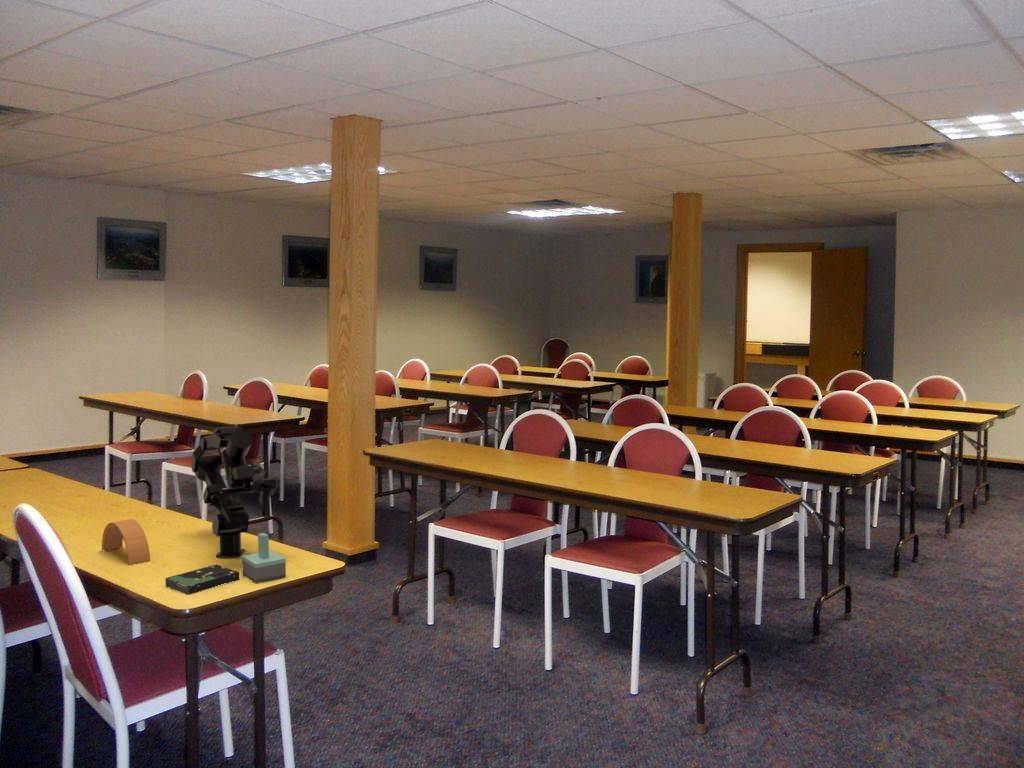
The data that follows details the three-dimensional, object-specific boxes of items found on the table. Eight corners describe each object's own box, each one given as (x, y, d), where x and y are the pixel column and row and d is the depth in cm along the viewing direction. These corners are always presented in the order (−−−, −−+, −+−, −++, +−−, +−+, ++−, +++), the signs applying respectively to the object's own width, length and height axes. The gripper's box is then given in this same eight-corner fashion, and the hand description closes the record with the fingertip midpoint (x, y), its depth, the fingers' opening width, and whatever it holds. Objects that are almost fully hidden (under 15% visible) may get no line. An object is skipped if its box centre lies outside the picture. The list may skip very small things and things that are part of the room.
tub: (242, 574, 227) (242, 559, 227) (272, 568, 232) (271, 554, 232) (255, 583, 220) (255, 568, 220) (285, 577, 225) (285, 562, 225)
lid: (242, 562, 227) (241, 533, 226) (271, 557, 232) (271, 528, 231) (255, 571, 220) (254, 540, 219) (285, 565, 225) (284, 535, 224)
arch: (128, 566, 235) (127, 529, 234) (101, 551, 249) (100, 516, 248) (150, 561, 239) (149, 526, 238) (122, 547, 253) (121, 513, 252)
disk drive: (216, 574, 229) (164, 588, 218) (216, 564, 229) (164, 577, 217) (240, 582, 223) (188, 596, 211) (240, 571, 223) (188, 585, 211)
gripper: (205, 455, 226) (217, 509, 219) (276, 449, 237) (289, 500, 230) (198, 476, 234) (209, 528, 227) (266, 469, 245) (279, 519, 238)
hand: (247, 518), depth 230 cm, fingers open, 9 cm apart
